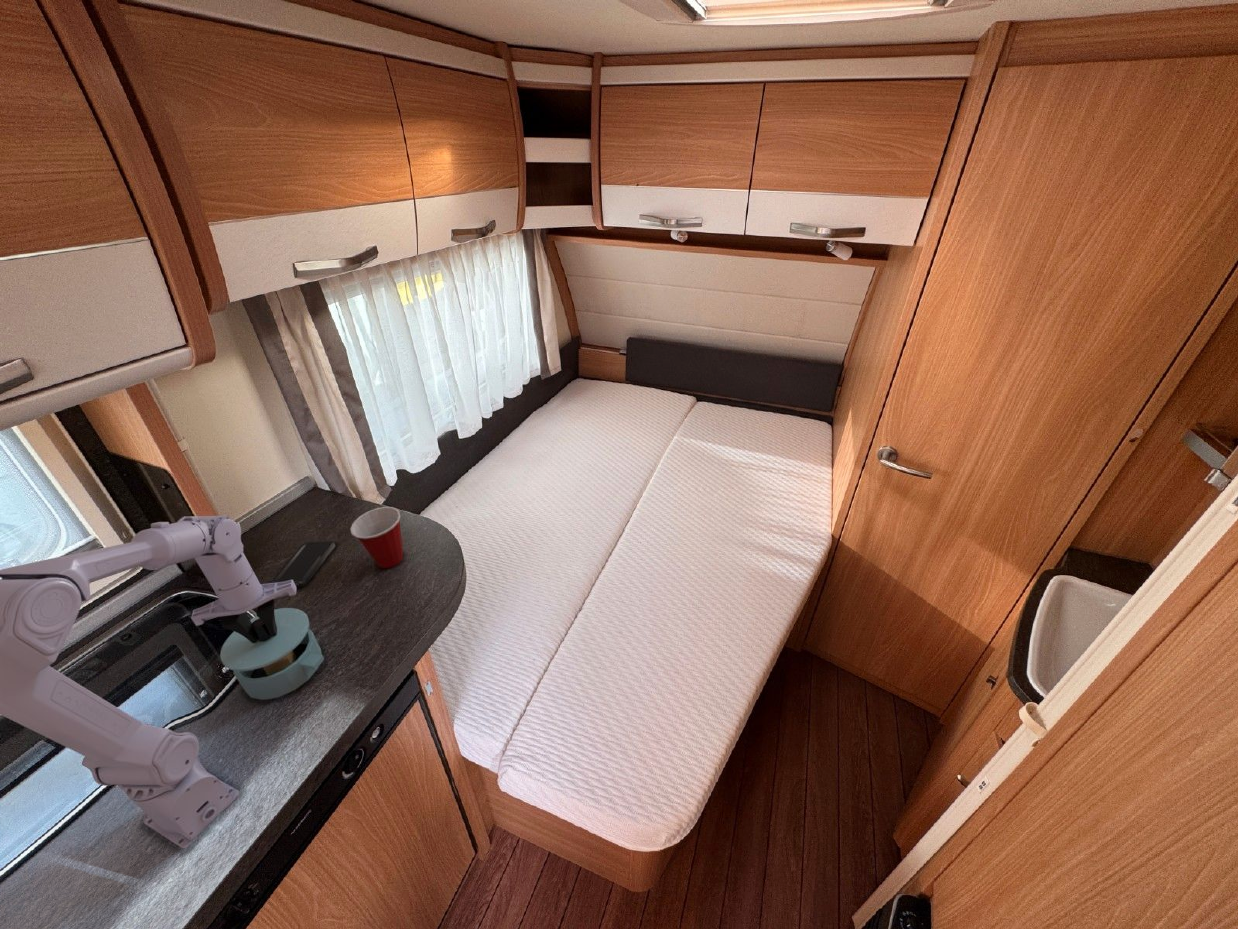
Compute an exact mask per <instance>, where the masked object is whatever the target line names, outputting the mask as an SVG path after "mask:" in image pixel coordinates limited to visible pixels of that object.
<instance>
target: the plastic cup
mask: <svg viewBox="0 0 1238 929" xmlns="http://www.w3.org/2000/svg"><path fill="white" fill-rule="evenodd" d="M350 533H351V535H352V536H353V537H355V538H356V539H358V540H359V541H360V543H361V544H362V546H364V548H365V550H366V551H367V552H368V554H369V555H370V557H371V558H372V559H373V561H374V563H375V564H376V565H377V566H378V567H379V568H381V569H390V568H393V567H395V566H397V565H399V564H400V563H401V562H402V561H403V558H404V552H403V550H404V549H403V541H402V531H401V513H400V510H399V509H397V508H395V507H393V506H382V507H377V508H374V509H371V510H368V511H366V512H364V513H363V514H361V515H360V516H358V517H357V518H356V519H355V520H354V521H353V522H352V524H351V526H350Z"/></svg>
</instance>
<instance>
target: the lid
mask: <svg viewBox="0 0 1238 929" xmlns="http://www.w3.org/2000/svg"><path fill="white" fill-rule="evenodd" d="M274 614H275V622H276V626H277V635H276V636H273V637H272V636H271V635H270V633H269V631H268V629H267V627H266V625H265V624H264V623H263V621H262V620H261V619H260V618H259V617H257V615H256V616H254V617H252V618H251V619H250V621H251V625H250V628H251V629H252V631H253V633H254V634H255V636H256V638H257V642H256V643H251V642H250V641H249V640H248V639H247V638H245V637H244V636H242V635H241V634H239V633H237V632H235V631H233V632H232V633H231V634H230V635H229V636H228V637H227V639H225V641H224V643H223V645H222V646H221V649H220V654H219V655H220V656H219V657H220V661H221V663H222V664H223V666H224V667H225V668H226V669H228V670H230V671H233V670H235V671H249V670H258V669H262V668H263V667H264V666H267V665H269V664H271V663H274V662H276V661H277V660H279V659H281V658H282V657H284V656H286V655H287V654H288V653H290V652H291V651H292V650H293V651H294V650H295V649H296V648H297V647H298V646H299V645H301V644H300V642H301V641H302V640H303V639H304V637H305V635H306V634H307V631H308V629H310V620H309V617H308V615H307V614H306V613H305V611H303V610H301V609H298V608H294V607H283V608H281V607H280V608H277V609H276V608H275V609H274Z"/></svg>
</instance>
